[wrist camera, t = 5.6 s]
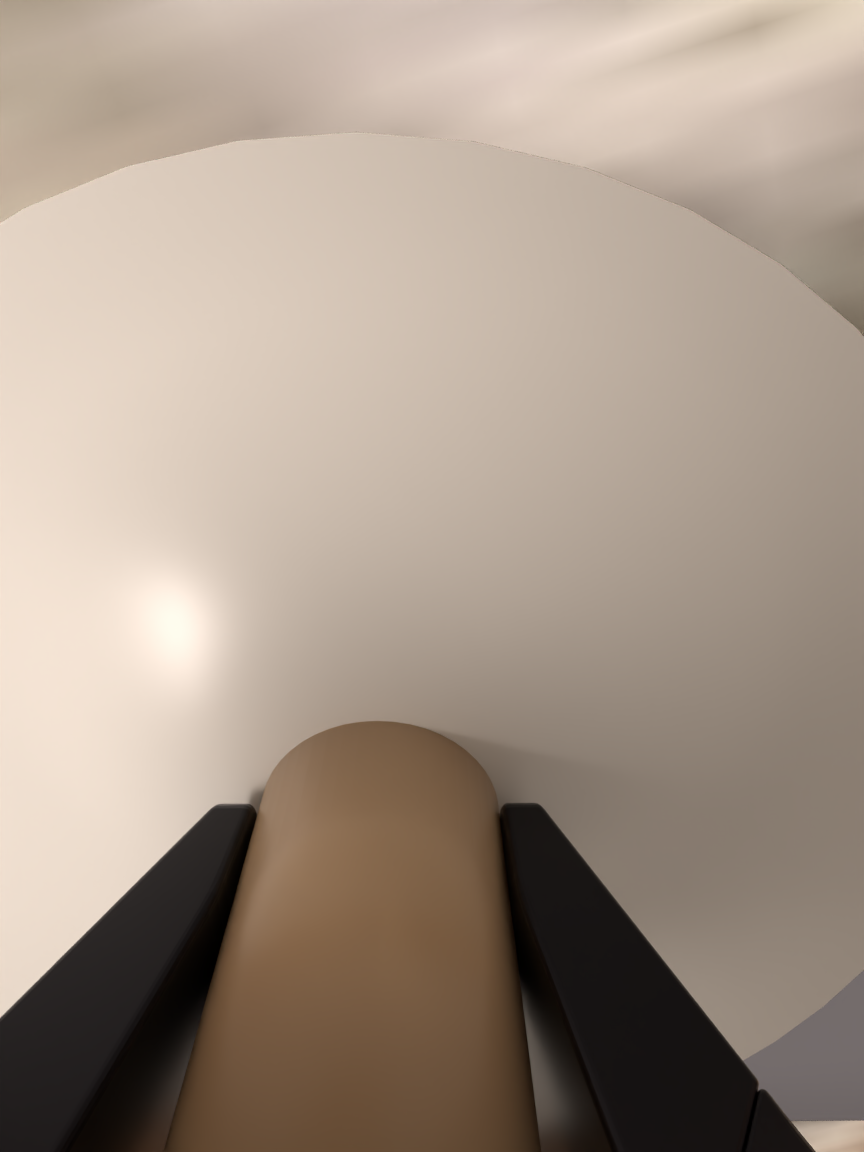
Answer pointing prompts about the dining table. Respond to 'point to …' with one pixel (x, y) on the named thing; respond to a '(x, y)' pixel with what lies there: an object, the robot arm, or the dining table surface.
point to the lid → (423, 607)
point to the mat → (819, 1062)
